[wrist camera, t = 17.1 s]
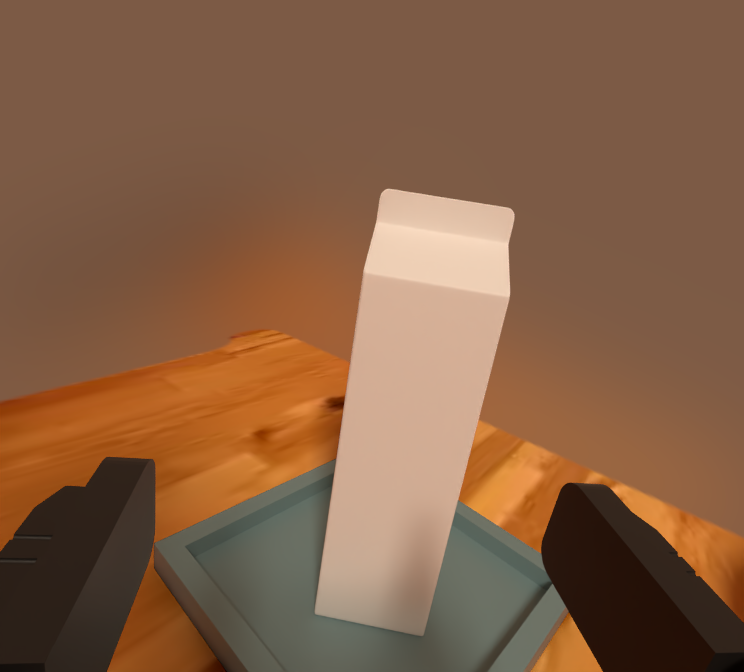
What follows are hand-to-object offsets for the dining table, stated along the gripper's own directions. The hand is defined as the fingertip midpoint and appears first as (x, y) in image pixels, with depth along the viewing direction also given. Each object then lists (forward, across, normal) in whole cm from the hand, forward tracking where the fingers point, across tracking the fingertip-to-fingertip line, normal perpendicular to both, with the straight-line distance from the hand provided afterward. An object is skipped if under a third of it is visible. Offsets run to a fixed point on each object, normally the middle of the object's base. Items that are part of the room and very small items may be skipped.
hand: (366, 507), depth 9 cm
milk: (+13, -5, +17) cm, 22 cm away
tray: (+13, -5, +17) cm, 22 cm away
